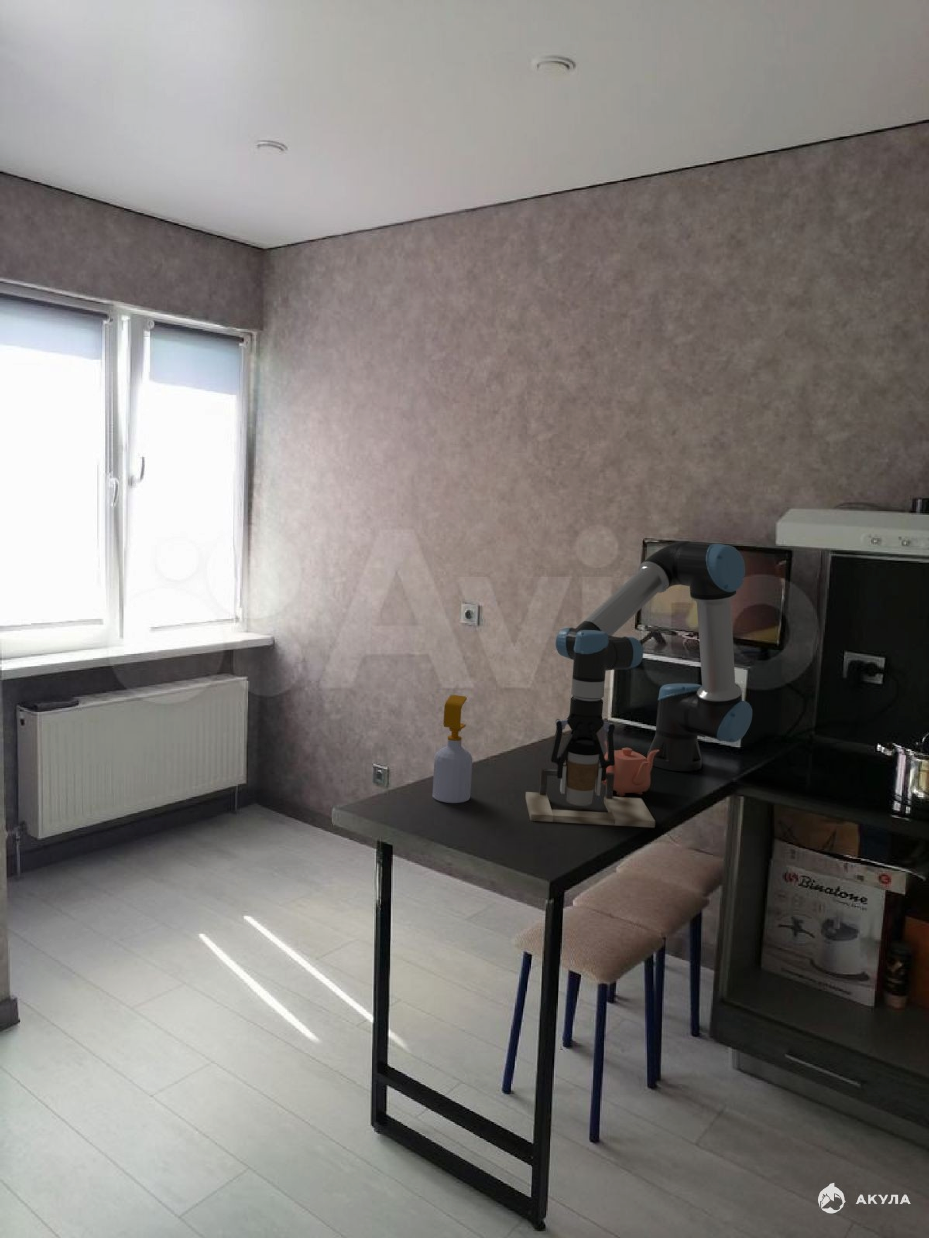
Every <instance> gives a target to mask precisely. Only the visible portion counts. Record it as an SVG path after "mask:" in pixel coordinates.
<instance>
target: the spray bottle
mask: <svg viewBox="0 0 929 1238" xmlns="http://www.w3.org/2000/svg"><path fill="white" fill-rule="evenodd" d="M467 700H468V698H467V696H466V695H465V696H464V695H456V694H451V695H450V696H449V697H448V698H447V700H446V701H445V703H444V708H443V727H444V728H448V729H449V730H448V731H449V732H451V735H447V744H446V746H444V747H442V748H440V749H439V750H437V751H436V753H435V754H434V760H433V776H432V777H433V778H432V779H433V781H432V795H431V796H432V798H433V799H434V800H436V801H438V802H441V803H445V804H462V803H465V802H467V801H469V800H470V799H471V789H472V787H471V786H472V774H473V770H472V769H473V756H472V754H471V753H470V752H469V751H468V750H467V749H466V748H464V747H463V746H462V741H463V740H462V739H463V737H462V736H461V735H459V732H461V731H462V730H463V729H464V728H466V727H467V724H466V723H462V722H461V719H462V708H463V705H464V704H465V703H466V701H467Z"/></svg>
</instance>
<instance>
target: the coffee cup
mask: <svg viewBox="0 0 929 1238" xmlns="http://www.w3.org/2000/svg"><path fill="white" fill-rule="evenodd" d="M567 740H568V739H567ZM568 741H569V740H568ZM600 745H601V742H600V743H597V744H595V745H594V743H593V740H592V737H591V738H588V737H578V738H577V740H576V741H575V742H574V743H573V742H570V743H569V747H568V748H567V751H568V756H567V758H566V760H565V764H566V766H567V767H566V780H565V785H566V802H567V803H568V804H571V805H574V806H581V807H585V806H590V805H592V803H593V798H594V792H595V784H596V776H597V771H598V765H600V761H599V754H601V749H600Z"/></svg>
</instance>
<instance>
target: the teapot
mask: <svg viewBox="0 0 929 1238" xmlns="http://www.w3.org/2000/svg"><path fill="white" fill-rule="evenodd" d="M604 744H605V747H606V748H607V740H605V741H604ZM658 751H659V750H653V751H651V752H650V753H649V755H648V757H647V756H646V757H645V756H644V755H643V754H641V753H639V752H636V751H633V749H632V748H630V747H623V748H621V749H618V750H615V749H614V757H615V765H614V766H608V767H607V769H606V773H607V772H609V773H614V785H613V791H614V792H616V796H618V797H624V796H625V797H626V794H631V793H634V794H635V795H643V792H647V791H648V790H649V788H650V786H651V771H652V769H653V765H652V764H653V759H654V756H655V754H656V753H657V752H658ZM604 758H605V760H608V752H607V751H606V753H605V755H604ZM606 780H607V779H605V781H601V784H603V785H604V788H605V789H606Z"/></svg>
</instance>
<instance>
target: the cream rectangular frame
mask: <svg viewBox="0 0 929 1238" xmlns="http://www.w3.org/2000/svg"><path fill="white" fill-rule="evenodd" d="M548 776H550V777H551V776H552V777H557V769H553V768H552V769H551V768H540V778H539V780H540V781H539V790H538V791H539V792H531V791H525V801H526V806H527V811H528V815H529V820H530V821H531V822H549V823H568V824H569V823H570V824H582V825H583V824H586V825H600V826H601V825H603V826H605V825H606V826H621V827H639V828H655V827H656V820H655V818H654V817H653V815H652V813H651V812H650V811H649V809H648V807H647V806H646V804H645V802H644V800H643V799H642V798H641V797H626V796H625V797H624V796H613V795H614V790H613V785H614V773H609V772H607V773H606V779H607V780H606V786H605V787H606V788H605V795H604V796H603V803H604V806H605V808H606V810H607V812H605V811H604V812H603V811H602V812H601V811H583V810H568V809H552V807H551V804H550V803H551V802H550V801H549V800H550V799H549V797H548V796H549V795H548V794H547V790H548V789H547V786H548Z"/></svg>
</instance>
